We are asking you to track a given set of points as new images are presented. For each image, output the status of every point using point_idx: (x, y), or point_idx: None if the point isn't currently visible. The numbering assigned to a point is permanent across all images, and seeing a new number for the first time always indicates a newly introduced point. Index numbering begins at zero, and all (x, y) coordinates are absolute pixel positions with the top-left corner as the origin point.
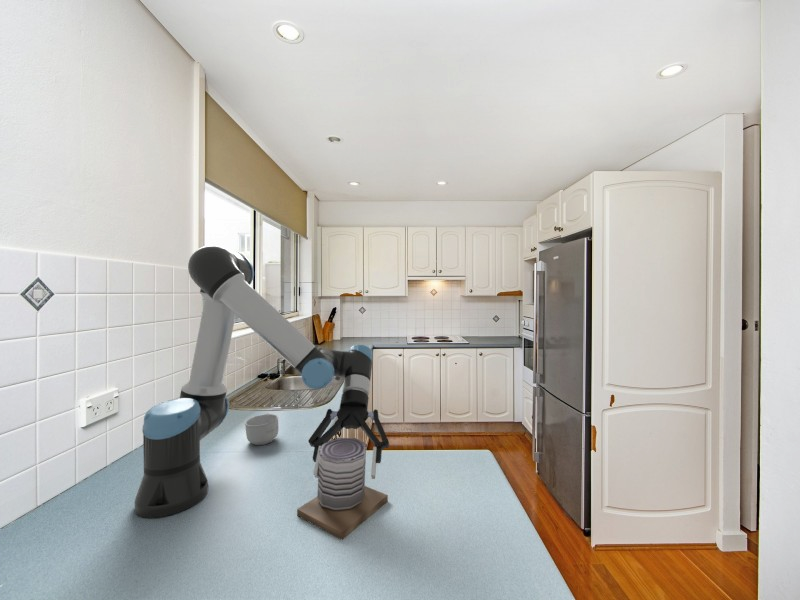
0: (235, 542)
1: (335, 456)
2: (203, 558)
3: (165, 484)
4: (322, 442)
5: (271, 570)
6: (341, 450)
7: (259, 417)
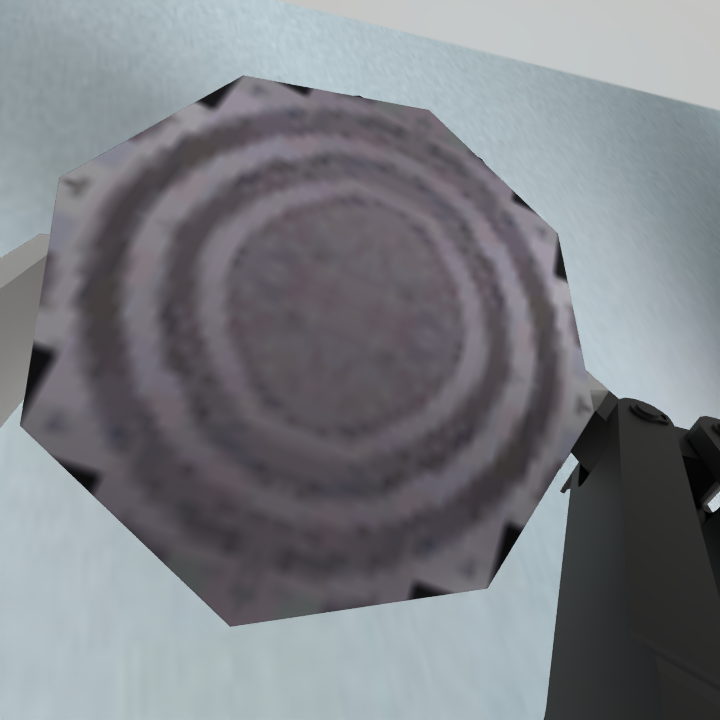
0: (569, 206)
1: (393, 167)
2: (605, 162)
3: None
4: (608, 441)
5: (431, 95)
6: (363, 272)
7: None
